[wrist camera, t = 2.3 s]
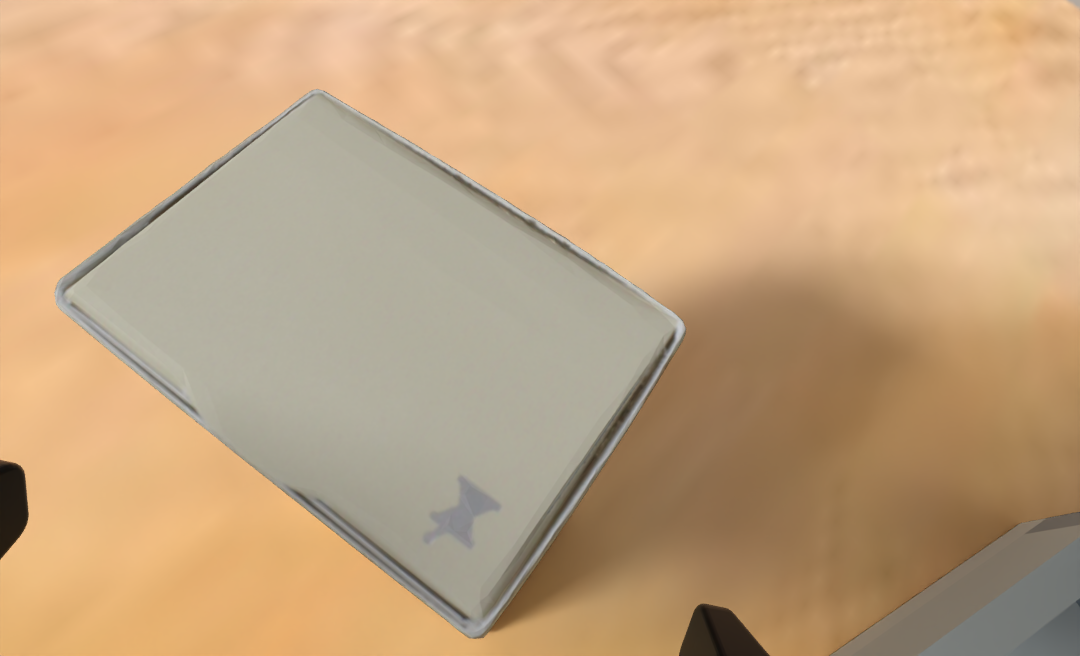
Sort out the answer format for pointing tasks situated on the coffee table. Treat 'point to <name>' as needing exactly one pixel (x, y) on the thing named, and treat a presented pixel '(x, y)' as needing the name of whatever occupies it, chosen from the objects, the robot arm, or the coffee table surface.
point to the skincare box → (384, 347)
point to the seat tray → (993, 601)
